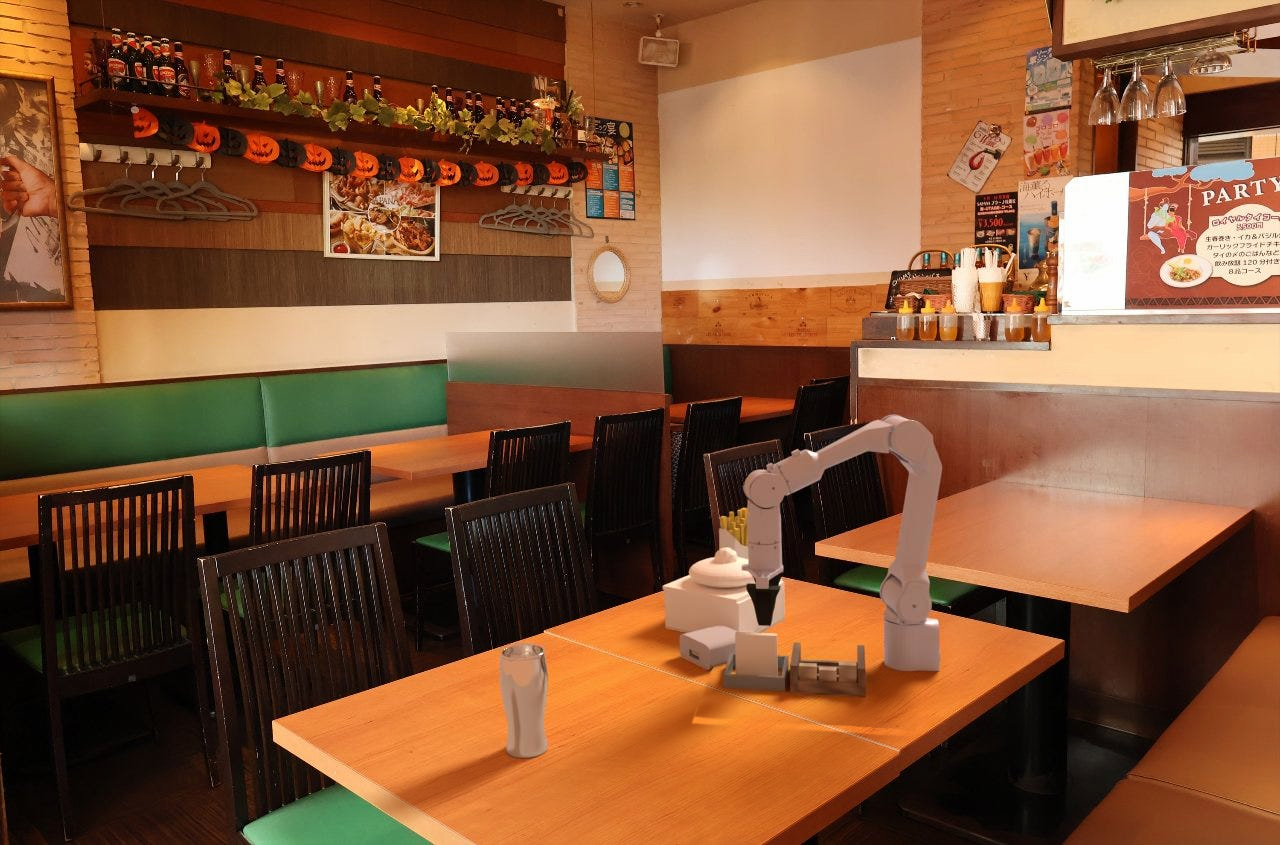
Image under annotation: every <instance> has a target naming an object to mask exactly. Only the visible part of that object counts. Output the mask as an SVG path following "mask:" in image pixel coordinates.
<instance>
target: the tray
mask: <svg viewBox="0 0 1280 845" xmlns="http://www.w3.org/2000/svg"><path fill="white" fill-rule="evenodd" d="M777 657H778V670H782V672H781V676H780V675H778V676H765V675H745V674H736V673H733V669H734V668H736V654H735V653H730V655H729V658H728V661H727V662H726V665H725V667H724V670H723V673H722V685H723V686H722V688H723V689H741V690H761V691H762V690H763V691H778V692H779V691H780V692H781V691H782V692H786V687H787V682H788V680H787V679H788V674H789V671H790V662H789V661H790V659H789V657H790V656H789V655H780V654H777Z"/></svg>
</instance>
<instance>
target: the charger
mask: <svg viewBox="0 0 1280 845" xmlns="http://www.w3.org/2000/svg"><path fill="white" fill-rule="evenodd" d="M736 632H738V631H735V630H733V629H731V628H728V627H726V626H723V625H718V626H714V627H710V628H706V629H702V630H698V631H694V632H690V633H681V634H680V635H679V654H680V656H681V658H683V659H685V660H687V661H689V662H691V663H693V664H694V665H696V666H699V667H701V668H702V669H704V670H706V671H709V670H713V668H714V667H715V666H718V665H722V664H725V663H727V661H728V658H729V655H730V653H735V633H736ZM741 632H749V631H747V630H745V631H741ZM751 633H752V632H751ZM755 633H756V632H755Z"/></svg>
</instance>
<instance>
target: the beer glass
mask: <svg viewBox="0 0 1280 845" xmlns="http://www.w3.org/2000/svg"><path fill="white" fill-rule="evenodd" d="M548 676H549V674H548V664H547V657H546V648H545V647H544V646H543V645H541V644H537V643H531V642H529V643H517V644H516V643H515V644H510V645H508V646H506V647H503V648H502V649H501V650H500V652H499V686H500V692H501V699H502V704H503V708H504V712H505V716H506V719H507V720H506V722H507V730H508V731H507V739H506V740H507V741H506V749H505V750H506V753H507V754H508V755H509V756H511V757H513V758H517V759H530V758H531V759H532V758H534V757H539V756H541V755H542V754H544V753H545V752H546V751H547V750H548V747H549V745H548V738H547V734H546V730H545V715H546V714H545V712H546V706H547V701H548V700H547V698H548V690H549V688H548V687H549V679H548V678H549V677H548Z"/></svg>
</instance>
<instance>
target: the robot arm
mask: <svg viewBox="0 0 1280 845" xmlns="http://www.w3.org/2000/svg"><path fill="white" fill-rule="evenodd" d="M866 452H874V453H881V454H889V453H890V454H892V455H894V456H895V457H896V458H897V460H899V462H900V463H901V464H902V466H904V467H905V468H906V471H908V477H907V478H908V479H907V482H906V483H907V484H906V485H907V486H906V490H905V497H904V503H903V508H902V509H903V510H902V515H901V520H900V521H901V522H900V528H899V534H898V539H897V547H896V551H895V557H894V560H893V561H892V563H891V564H890V565H889V567H888V570H887V575H886V577H885V578H884V579H883V581H882V583H881V584H880V586H879V596H880V597H879V598H880V600H881V601H882V602H883V603H884V605H886V606H885V610H884V613H883V663H884V665H885V666H886V667H888V668H890V669H894V670H897V671H904V672H913V671H915V672H916V671H926V672H927V671H928V672H930V671H931V672H940V662H941V650H940V649H941V648H940V644H941V642H940V625H939V624H940V623H939V620H938V619H937V618H931V617H928V616H929V615H930V613H931V611H932V606H933V605H932V603H933V602H932V599H931V595H930V585H931V582H930V579H929V575H928V572H927V571H928V570H927V563H928V562H927V561H928V557H929V550H930V546H931V545H930V544H931V539H932V538H931V537H932V532H933V526H934V520H935V514H936V509H937V502H938V498H939V497H938V496H939V491H940V486H941V485H940V484H941V479H942V472H943V465H942V462H941V459H940V455H939V453H938V451H937V449H936V445H935V443H934V435H933V434H932V433H931V432H930V431H929V429H928V428H926V427H925V426H924V425H923V424H922V423H921V422H919V421H917V420H913V419H907V418H905V417H903V416H901V415H899V414H889V415H886V416H883V417H882V418H881V419H876V420H873V421H870V422H869V423H868V424H867V423H866V424H865V425H864V426H862V427H860V428H858V429H856V430H854V431H852V432H850V433H849V434H847V435H846V436H842V437H841V438H840V439H837V440H836V441H833V442H832V443H830V444H829V445H827V446H824V447H822V448H821V449H819V450H817V451H815V452H814V451H812V450H809V449H803V450H799V449H798V448H797V449H795V450H793V451H791V456H788V457H787V458H785V459H782V460H780V461H778V462H776V463H774V464H773V463H772V462H769V463H768V464H766V469H756V470H753V471H752V472H751V473H749V475H747V477H746V478H745V481H744V485H742V488H743V489H742V490H743V492H744V494H745V496H746V497H747V498H748V499H747V506H746V508H747V509H748V514H747V530H748V564H743V565H742V570H743V571H748V572H749V573H750V574H751V575H752V576H753V578H754V581H755V583H756V584H751V583H747V586H746V589H747V592H748V594H749V595H750V597H751V599H752V602H753V605H754V609H755V613H756V618H757V622H758V625H759V626H771V623H772V618H773V612H774V608H775V603H776V597H777V595H778V593H779V591H780V587H781V586H778V585H779V582H780V580H781V578H783V575H784V573H785V572H784V565H783V556H782V555H783V551H782V549H783V548H782V516H781V515H782V514H781V503H782V502H783V499H784V497H785V496H789V495H791V494H793V493H796V492H797V491H800V490H801V489H803V488H805V487H808V486H810V485H813V484H814V483H816V482H818V481H820V480H821V479H822V476H823V474H824V472H825V470H827V469H828V468H831V467H834V466H835V465H839V464H840V463H843V462H845V461H847V460H850V459H852V458H854V457H857V456H859V455H862V454H864V453H866Z"/></svg>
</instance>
